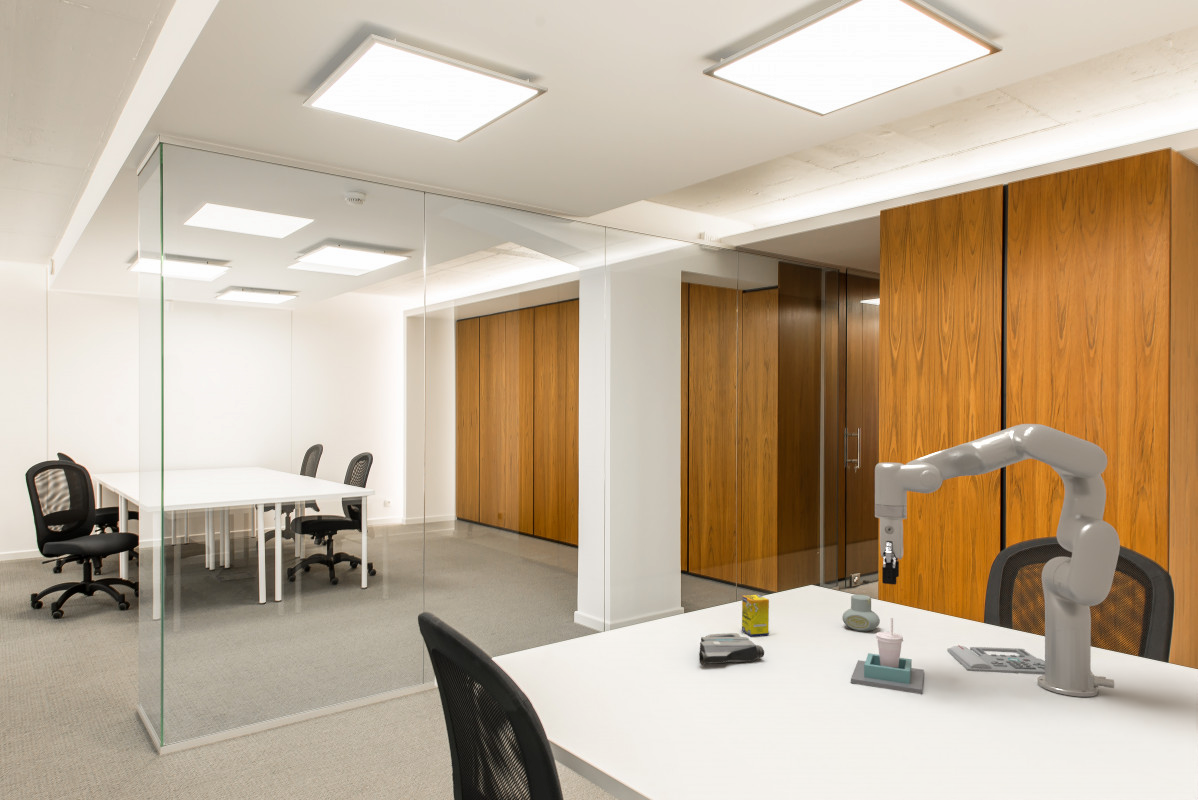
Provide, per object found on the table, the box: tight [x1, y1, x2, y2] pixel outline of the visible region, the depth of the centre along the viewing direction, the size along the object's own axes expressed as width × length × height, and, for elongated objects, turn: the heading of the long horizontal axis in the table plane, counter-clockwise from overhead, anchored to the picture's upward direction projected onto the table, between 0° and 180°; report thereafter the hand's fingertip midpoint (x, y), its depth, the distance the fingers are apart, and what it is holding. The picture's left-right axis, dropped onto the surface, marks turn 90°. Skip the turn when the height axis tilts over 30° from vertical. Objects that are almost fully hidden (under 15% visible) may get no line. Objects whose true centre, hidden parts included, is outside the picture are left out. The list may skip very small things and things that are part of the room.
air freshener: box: [841, 594, 881, 633], centre depth 234 cm, size 11×8×10 cm
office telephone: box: [947, 644, 1045, 675], centre depth 205 cm, size 23×3×20 cm
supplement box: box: [741, 594, 770, 638], centre depth 227 cm, size 6×6×11 cm
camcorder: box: [698, 632, 765, 666], centre depth 204 cm, size 16×20×5 cm
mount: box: [850, 653, 925, 695], centre depth 190 cm, size 16×16×4 cm
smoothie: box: [875, 617, 904, 668], centre depth 190 cm, size 6×6×14 cm
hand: (890, 580), depth 190 cm, fingers open, 9 cm apart
